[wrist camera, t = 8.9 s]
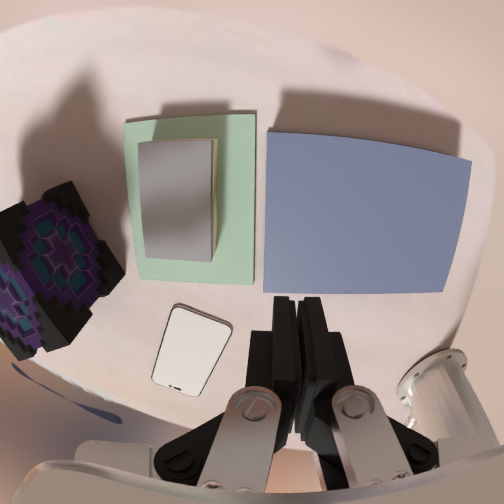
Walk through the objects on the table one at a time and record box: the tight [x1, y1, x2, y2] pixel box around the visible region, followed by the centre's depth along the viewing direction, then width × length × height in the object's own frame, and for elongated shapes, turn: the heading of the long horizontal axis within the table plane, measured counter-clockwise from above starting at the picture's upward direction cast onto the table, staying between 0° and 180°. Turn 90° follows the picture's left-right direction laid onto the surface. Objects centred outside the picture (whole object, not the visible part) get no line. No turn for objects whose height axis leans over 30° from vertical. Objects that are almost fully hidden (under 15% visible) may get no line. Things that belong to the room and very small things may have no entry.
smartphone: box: [151, 305, 233, 397], centre depth 34 cm, size 7×1×15 cm
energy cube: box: [0, 181, 125, 361], centre depth 23 cm, size 12×12×12 cm
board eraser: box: [138, 139, 218, 262], centre depth 23 cm, size 10×6×3 cm, turn 178°
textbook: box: [263, 132, 472, 294], centre depth 23 cm, size 13×18×4 cm
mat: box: [123, 114, 255, 285], centre depth 25 cm, size 16×12×1 cm
